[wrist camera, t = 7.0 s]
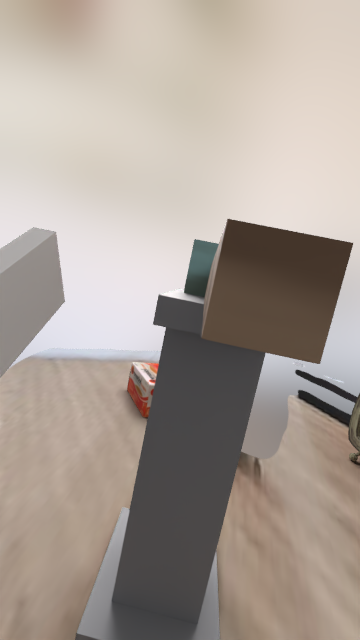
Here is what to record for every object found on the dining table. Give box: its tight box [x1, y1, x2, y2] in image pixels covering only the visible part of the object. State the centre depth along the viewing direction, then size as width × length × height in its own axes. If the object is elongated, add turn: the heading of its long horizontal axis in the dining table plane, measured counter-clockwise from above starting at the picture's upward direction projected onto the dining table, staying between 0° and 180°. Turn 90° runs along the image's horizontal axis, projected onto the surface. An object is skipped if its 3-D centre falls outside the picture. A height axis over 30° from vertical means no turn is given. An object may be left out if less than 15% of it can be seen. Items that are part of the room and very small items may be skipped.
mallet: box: [184, 219, 353, 364], centre depth 20 cm, size 26×7×5 cm, turn 175°
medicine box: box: [127, 362, 159, 417], centre depth 74 cm, size 15×8×8 cm, turn 24°
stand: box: [75, 289, 266, 640], centre depth 30 cm, size 16×12×30 cm
